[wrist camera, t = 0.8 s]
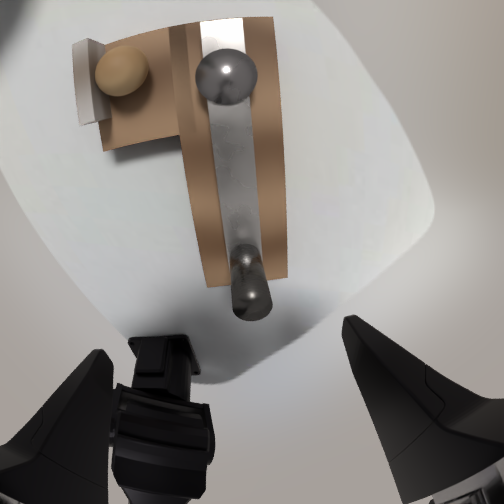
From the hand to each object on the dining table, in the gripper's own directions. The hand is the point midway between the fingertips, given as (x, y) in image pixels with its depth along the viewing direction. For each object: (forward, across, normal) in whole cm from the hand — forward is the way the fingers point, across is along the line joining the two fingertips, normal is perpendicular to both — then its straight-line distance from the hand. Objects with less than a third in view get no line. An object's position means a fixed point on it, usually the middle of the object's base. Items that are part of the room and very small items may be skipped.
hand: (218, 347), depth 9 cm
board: (+12, +1, -4) cm, 13 cm away
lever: (+10, -2, -5) cm, 11 cm away
